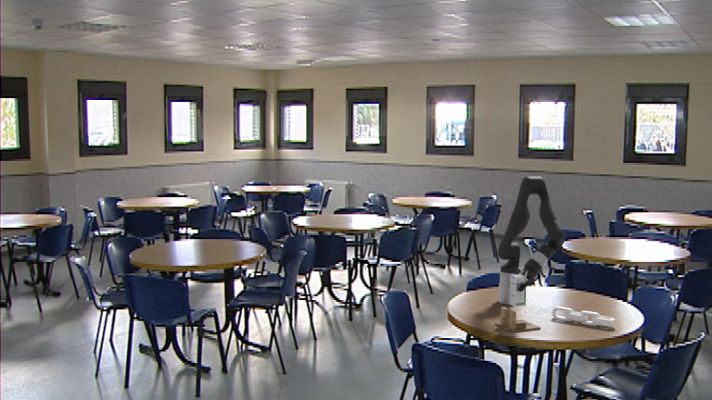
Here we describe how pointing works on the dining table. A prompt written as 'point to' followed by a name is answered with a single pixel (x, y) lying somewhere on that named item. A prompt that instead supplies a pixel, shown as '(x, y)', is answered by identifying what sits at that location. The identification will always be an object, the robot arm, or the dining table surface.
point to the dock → (514, 322)
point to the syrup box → (515, 295)
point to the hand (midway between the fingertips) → (514, 289)
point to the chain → (583, 317)
